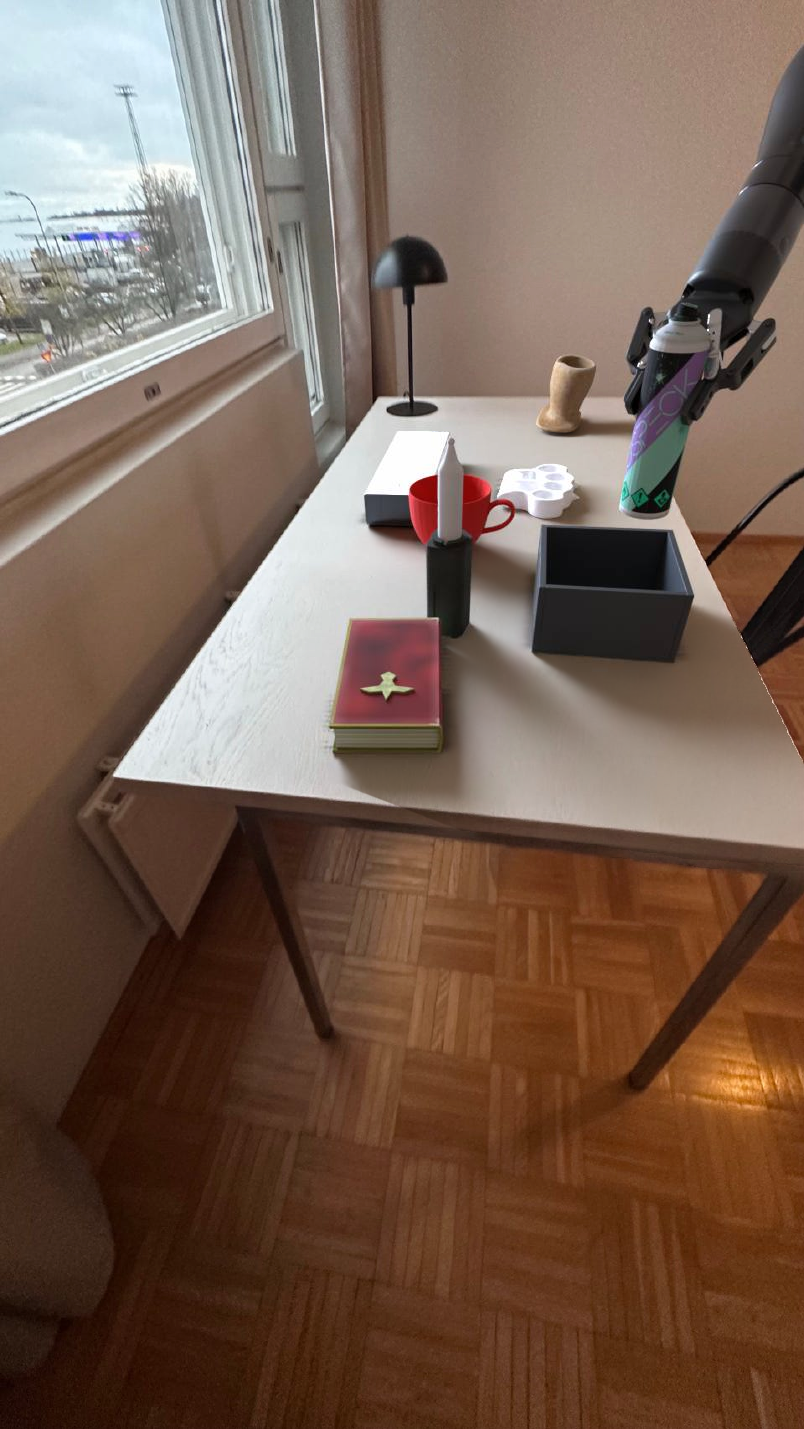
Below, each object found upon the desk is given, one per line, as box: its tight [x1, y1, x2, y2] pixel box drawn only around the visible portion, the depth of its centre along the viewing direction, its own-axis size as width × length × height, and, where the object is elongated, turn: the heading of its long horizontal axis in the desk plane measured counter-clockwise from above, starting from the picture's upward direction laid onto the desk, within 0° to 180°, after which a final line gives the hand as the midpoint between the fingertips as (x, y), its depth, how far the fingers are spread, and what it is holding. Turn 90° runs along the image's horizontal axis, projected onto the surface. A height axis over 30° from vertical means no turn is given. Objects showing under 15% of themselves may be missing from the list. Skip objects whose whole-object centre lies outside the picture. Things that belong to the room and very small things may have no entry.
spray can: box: [618, 302, 711, 521], centre depth 66 cm, size 6×6×20 cm
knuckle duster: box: [496, 463, 581, 520], centre depth 118 cm, size 3×18×15 cm
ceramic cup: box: [409, 473, 516, 547], centre depth 101 cm, size 13×17×10 cm
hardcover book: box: [328, 617, 444, 754], centre depth 75 cm, size 12×21×4 cm, turn 178°
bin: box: [531, 524, 695, 664], centre depth 84 cm, size 18×18×10 cm
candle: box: [425, 437, 474, 639], centre depth 79 cm, size 5×5×25 cm
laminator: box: [363, 430, 451, 527], centre depth 122 cm, size 34×12×6 cm, turn 171°
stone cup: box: [535, 353, 597, 433], centre depth 146 cm, size 15×12×15 cm
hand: (656, 415), depth 64 cm, fingers closed on spray can, 5 cm apart
